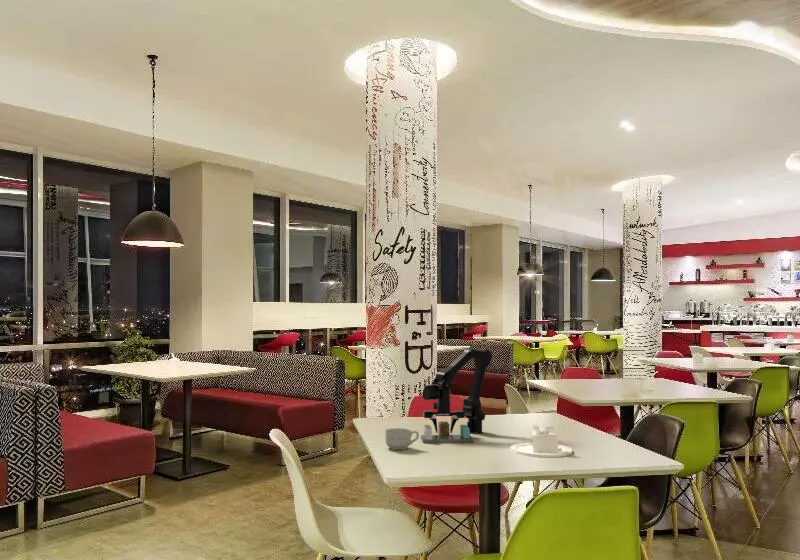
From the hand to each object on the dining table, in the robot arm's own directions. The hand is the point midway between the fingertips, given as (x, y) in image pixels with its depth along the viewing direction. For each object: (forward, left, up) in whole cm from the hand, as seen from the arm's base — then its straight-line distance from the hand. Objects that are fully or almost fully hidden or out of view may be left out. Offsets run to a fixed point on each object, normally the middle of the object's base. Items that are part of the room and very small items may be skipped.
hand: (443, 433), depth 295 cm
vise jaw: (-8, +11, +1) cm, 14 cm away
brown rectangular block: (0, 0, -1) cm, 1 cm away
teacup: (+21, +28, -2) cm, 35 cm away
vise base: (0, +11, -1) cm, 11 cm away
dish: (-36, +33, -2) cm, 49 cm away
